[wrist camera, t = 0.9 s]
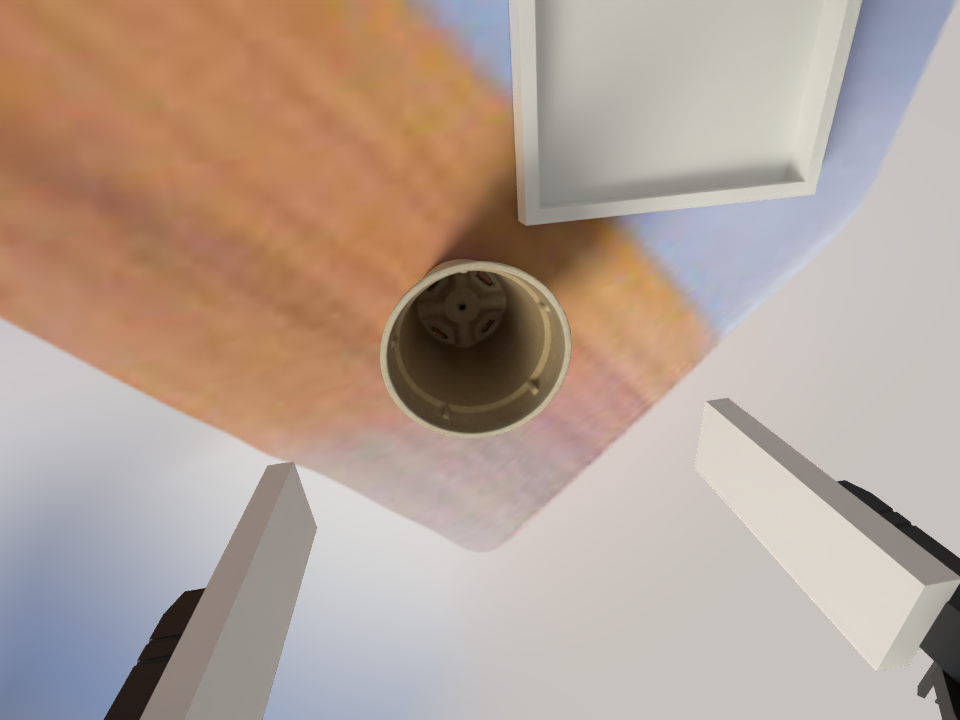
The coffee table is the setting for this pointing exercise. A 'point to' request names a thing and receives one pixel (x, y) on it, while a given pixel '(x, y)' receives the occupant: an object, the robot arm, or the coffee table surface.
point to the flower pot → (475, 349)
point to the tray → (671, 102)
